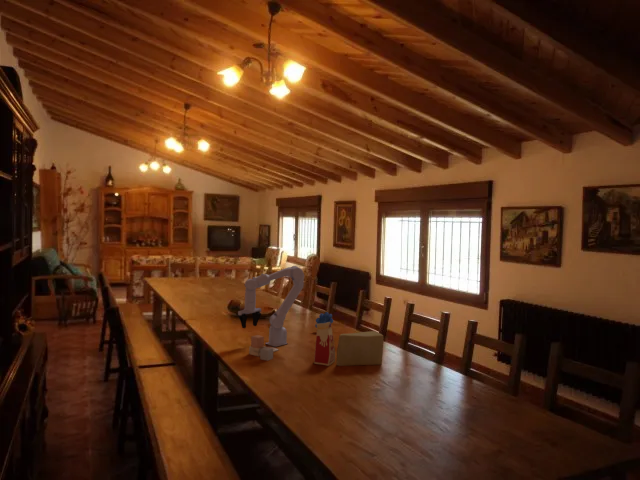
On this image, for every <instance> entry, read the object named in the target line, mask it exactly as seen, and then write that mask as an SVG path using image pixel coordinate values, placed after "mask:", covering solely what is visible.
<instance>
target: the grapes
mask: <svg viewBox="0 0 640 480" xmlns="http://www.w3.org/2000/svg"><path fill="white" fill-rule="evenodd" d="M327 322H330V325H331V326H332V324H333V322H334V319H333V314H332V313H329V312H328V311H325V312H324V313H320V314H319V316H318V317H317V318H316V319H315V324H314V327H315V328H316V329H317V325H316V324H322V323H327Z"/></svg>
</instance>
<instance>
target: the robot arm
mask: <svg viewBox="0 0 640 480" xmlns="http://www.w3.org/2000/svg"><path fill="white" fill-rule="evenodd" d="M283 277H286V278H291V280H292V284H293V285H292V287H291V289H290V290H289V292H288V293H287V295H286V296H285V298H284V300H283V302H282V303H281V304H280V305H279V307H278V309H277V310H276V311H274V313H273V314H272V315H271V316H270V317H269V319H268V320H269V323H270V326H268V328H269V330H268V332H269V333H268V342H264V343H265V345H267V346H270V347H273V348H276V347H281V346H283V345H285V346H286V345H288V340H287V336H288V332H287V328H285V327H284V321H285V320H286V317H287V314H288V312H289V311H290V309H291V308H292V306H293V305H294V303H295V301H296V300H297V297H298V296H299V295H300V293H301V291H302V290H303V288H304V285H305V283H304V281H305V273H304V271H303V269H302V268H300V267H298V266H297V265H293V266H288V267H285V268H283V269H281V270H277V271H276V272H273V273H270V274H267V273H261V274H260V275H258V276H253V277H252V278H248V279H246V281H245V282H244V288H245V290H244V308H243V309H242V310H238V311H237V316H238V319H239V321H240V324H241V328H242V329H246V328H247V320H248V317H249V316H248V315H250V314H252V315H251V316H252V326H254V327H258V323H259V319H260V317H261V316H262V308H261V307H256V303H257V302H256V301H257V300H256V299H257V297H256V296H257V294H256V293H257V292H256V289H257V288H258V289H259V288H261V287H264V286H266V285H269V284H270V283H271V282H272V281H274V280H277V279H280V278H283Z"/></svg>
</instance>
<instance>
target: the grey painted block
mask: <svg viewBox="0 0 640 480" xmlns="http://www.w3.org/2000/svg"><path fill="white" fill-rule="evenodd" d="M268 347H269V346H266V347H265V348H262V349H260V356H259V359H260V360H263V361H268V362H269V361H270V360H273V359H274V352H273V348H274V347H273V348H268Z"/></svg>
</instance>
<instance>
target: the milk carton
mask: <svg viewBox="0 0 640 480" xmlns="http://www.w3.org/2000/svg"><path fill="white" fill-rule="evenodd" d="M315 324H316V323H315ZM316 325H317V328H316V337H315V345H314V346H315V347H314V349H315V350H314V358H313V360H314V362H313V364H316V365H323V366H327V367H330V366H331V365H332V364H334V362H336V351H335V350H336V349H335V339H334V335H333V329H332V324H331V325H330V322H327V323H322V324H316Z"/></svg>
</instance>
